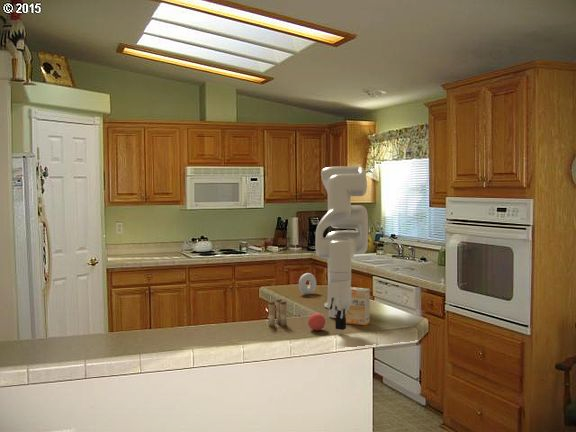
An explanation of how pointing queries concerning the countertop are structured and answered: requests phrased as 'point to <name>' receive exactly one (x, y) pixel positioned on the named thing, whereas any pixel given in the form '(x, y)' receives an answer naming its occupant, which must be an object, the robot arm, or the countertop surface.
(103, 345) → the countertop surface
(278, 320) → the pin
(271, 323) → the pin
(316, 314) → the ball
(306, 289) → the donut
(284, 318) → the front pin
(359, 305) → the supplement box
